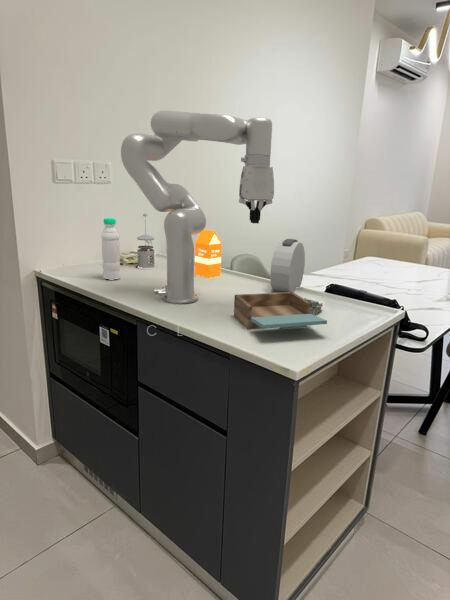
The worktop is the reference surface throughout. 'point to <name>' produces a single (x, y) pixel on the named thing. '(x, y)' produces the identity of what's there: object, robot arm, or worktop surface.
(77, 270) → the worktop surface
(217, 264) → the orange juice
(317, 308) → the egg carton
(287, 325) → the light blue flat panel
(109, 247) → the water bottle
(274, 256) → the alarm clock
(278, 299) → the wooden open box
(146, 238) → the french press
